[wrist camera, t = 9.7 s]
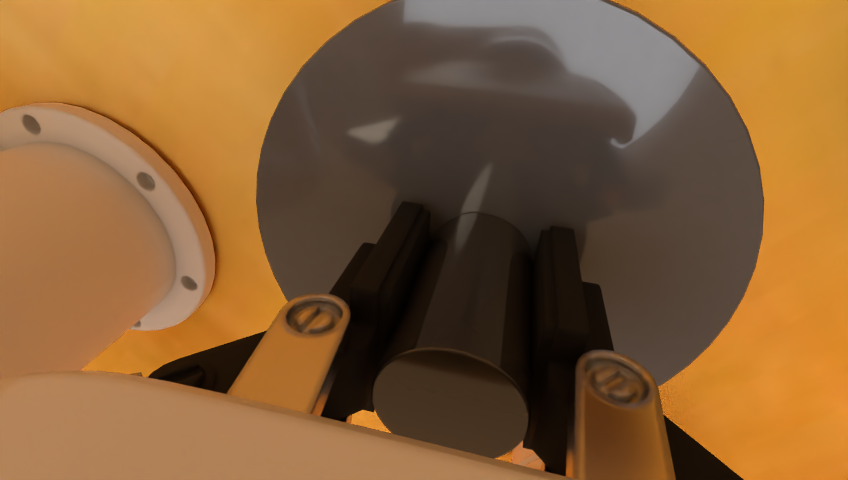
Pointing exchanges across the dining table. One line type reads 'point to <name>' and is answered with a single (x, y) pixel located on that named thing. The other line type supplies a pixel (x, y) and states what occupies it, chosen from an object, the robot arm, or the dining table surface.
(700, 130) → the gray pot lid
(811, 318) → the dining table surface
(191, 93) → the dining table surface
